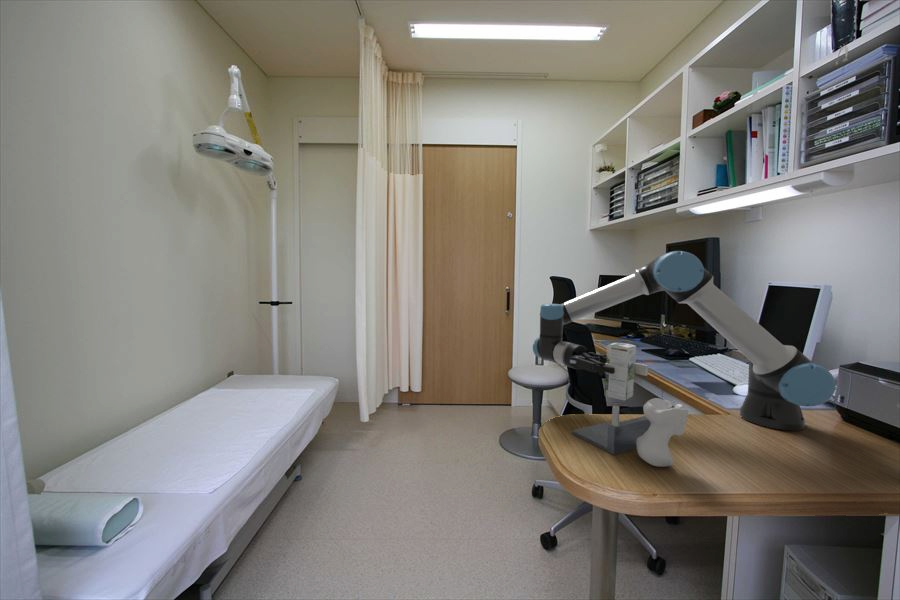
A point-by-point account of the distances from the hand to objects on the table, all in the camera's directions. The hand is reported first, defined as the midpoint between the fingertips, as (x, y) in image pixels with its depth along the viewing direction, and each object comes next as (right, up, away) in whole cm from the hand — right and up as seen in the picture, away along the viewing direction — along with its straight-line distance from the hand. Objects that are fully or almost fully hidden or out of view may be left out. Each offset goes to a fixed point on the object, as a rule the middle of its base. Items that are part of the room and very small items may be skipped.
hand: (636, 372), depth 94 cm
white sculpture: (+2, -21, -8) cm, 22 cm away
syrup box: (-2, -8, +5) cm, 10 cm away
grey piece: (-4, -20, +6) cm, 21 cm away
